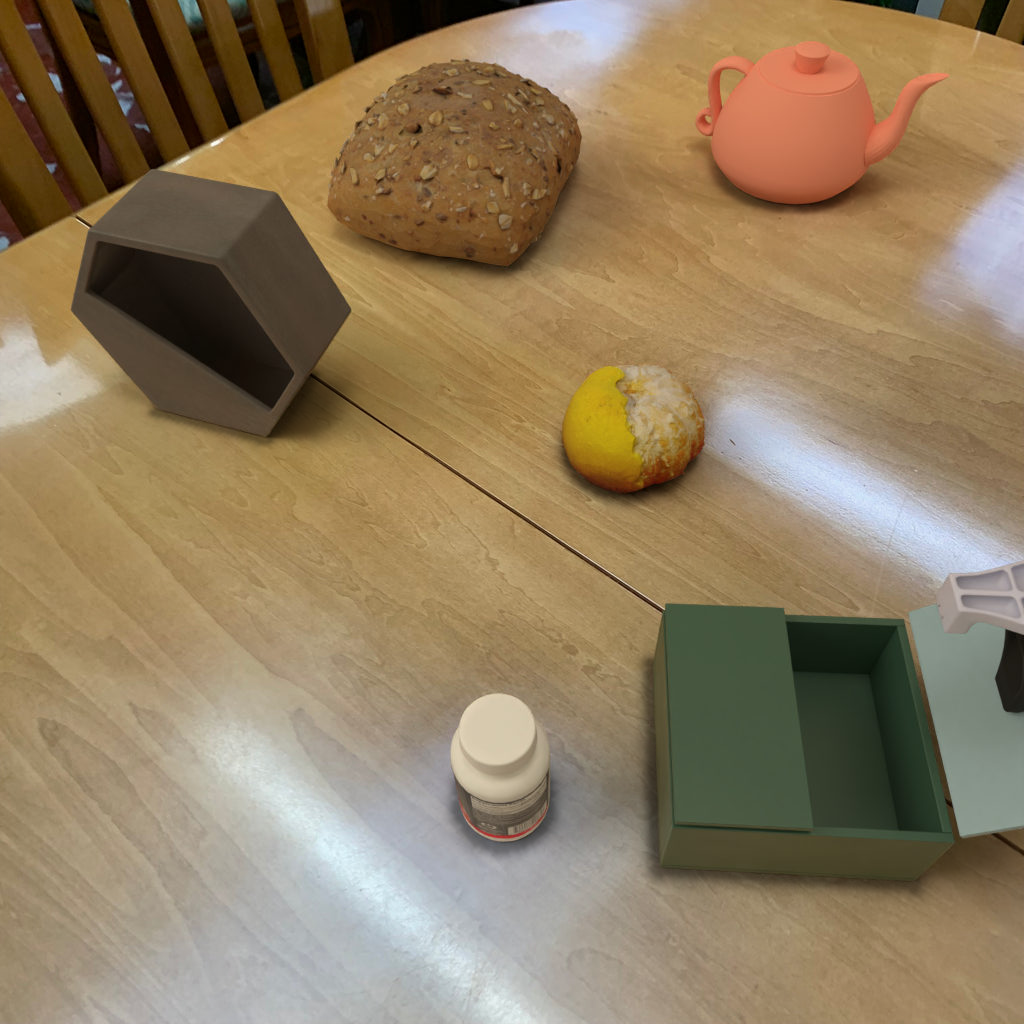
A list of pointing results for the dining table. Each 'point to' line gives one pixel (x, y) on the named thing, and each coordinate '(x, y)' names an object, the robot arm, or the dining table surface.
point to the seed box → (793, 746)
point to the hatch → (972, 723)
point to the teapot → (801, 123)
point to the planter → (208, 298)
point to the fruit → (632, 427)
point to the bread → (456, 163)
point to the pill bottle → (501, 767)
